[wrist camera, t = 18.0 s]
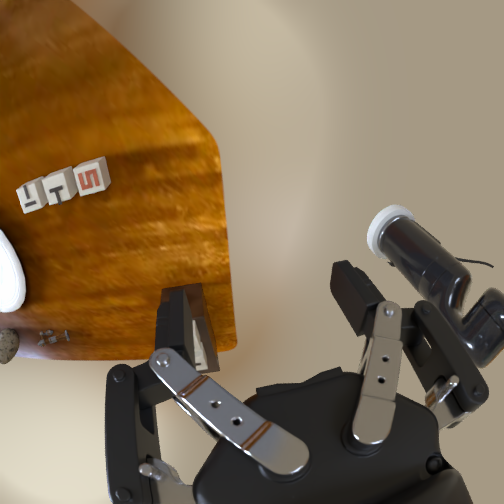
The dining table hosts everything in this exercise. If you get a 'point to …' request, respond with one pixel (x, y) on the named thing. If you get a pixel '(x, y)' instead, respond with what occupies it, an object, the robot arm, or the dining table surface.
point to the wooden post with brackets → (52, 338)
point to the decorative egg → (8, 345)
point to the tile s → (92, 176)
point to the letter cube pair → (47, 190)
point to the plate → (10, 277)
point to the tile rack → (199, 321)
